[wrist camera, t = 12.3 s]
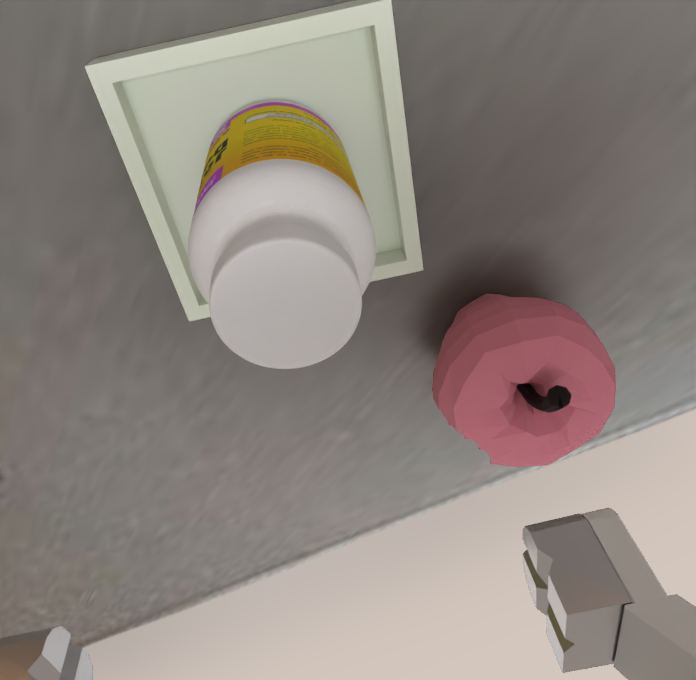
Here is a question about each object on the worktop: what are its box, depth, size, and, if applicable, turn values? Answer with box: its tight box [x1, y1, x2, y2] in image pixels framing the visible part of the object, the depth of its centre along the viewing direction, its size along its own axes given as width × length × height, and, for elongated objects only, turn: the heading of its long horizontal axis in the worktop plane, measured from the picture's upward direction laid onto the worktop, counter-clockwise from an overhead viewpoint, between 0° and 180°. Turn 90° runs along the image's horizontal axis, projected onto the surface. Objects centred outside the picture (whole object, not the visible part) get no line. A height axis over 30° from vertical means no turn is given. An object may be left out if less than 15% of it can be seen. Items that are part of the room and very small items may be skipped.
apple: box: [432, 294, 616, 467], centre depth 32 cm, size 10×9×10 cm
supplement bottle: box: [188, 100, 376, 369], centre depth 23 cm, size 7×7×13 cm
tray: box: [85, 0, 423, 322], centre depth 28 cm, size 13×13×2 cm
